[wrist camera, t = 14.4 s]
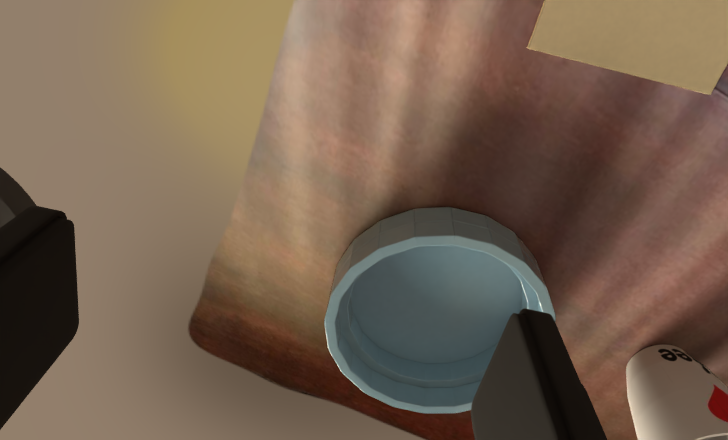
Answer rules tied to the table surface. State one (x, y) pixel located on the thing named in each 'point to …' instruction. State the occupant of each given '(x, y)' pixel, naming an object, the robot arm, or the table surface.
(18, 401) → the robot arm
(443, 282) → the pan
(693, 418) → the cup
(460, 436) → the table surface
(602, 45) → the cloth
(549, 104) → the table surface
